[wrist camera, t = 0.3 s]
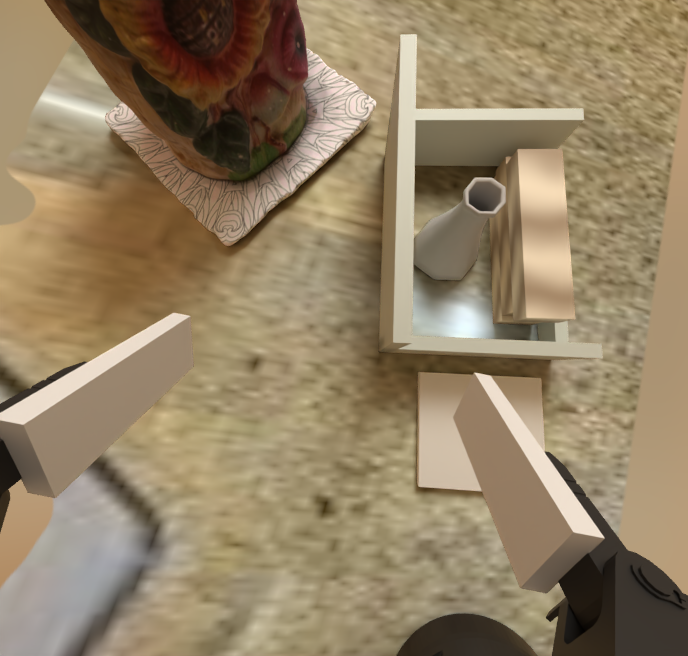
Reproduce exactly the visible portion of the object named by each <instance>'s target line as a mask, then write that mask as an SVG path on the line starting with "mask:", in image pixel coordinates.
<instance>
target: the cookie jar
mask: <svg viewBox="0 0 688 656" xmlns="http://www.w3.org/2000/svg"><path fill="white" fill-rule="evenodd" d="M45 2H46V3H47V5H48V6H49V8H50V9H51V11H52V12H53V14H54V15H55V16H56V18H57V19H58V20H59V22H60V23H61V24H62V25H63V27H64V28H65V29H66V30H67V31H68V32H69V33H70V35H71V36H72V37H73V38H74V39H75V40H76V41H77V42H78V44H79V45H80V46H81V48H82V49H83V50H84V52H85V53H86V55H87V56H88V58H89V60H90V61H91V62H92V64H93V65H94V67H95V68H96V70H97V71H98V72H99V74H100V75H101V76H102V77H103V79H104V80H105V81H106V83H107V85H108V86H109V87H110V89H111V90H112V92H113V93H114V94H115V95H116V96H117V97H118V98H119V99H120V100H121V102H120V103H119V104H118V105H117V106H116V107H115V108H113V109H112V110H111V111H110V112H108V113H107V114H106V116H105V120H106V123H107V124H108V126H109V127H110V128H111V130H113V131H114V132H115V133H116V134H118V135H119V136H120V137H121V138H122V140H123V141H125V142H126V143H127V144H128V145H129V146H130V147H131V148H132V149H134V150H135V152H136V153H137V154H138V155H139V157H140V158H141V159H142V160H143V161H144V162H145V163H146V164H147V165H148V166H149V168H150V169H151V170H152V171H153V173H154V174H155V176H156V177H157V178H158V179H159V180H160V182H161V183H162V184H163V185H164V186H165V187H166V188H167V189H168V190H169V191H170V192H172V193H173V194H174V195H175V196H176V197H177V198H178V200H179V201H180V202H181V203H182V204H184V205H185V206H186V207H187V208H188V209H190V210H191V211H192V212H193V213H194V217H195V219H197V220H198V221H199V222H200V223H201V224H202V225H203V226H204V227H205V228H207V230H209V231H211V232H213V233H214V234H216V235H217V237H218V238H219V239H220V240H221V242H222V243H223V244H224V245H226V246H231V245H232V244H234V243H236V242H237V241H238V240H239V239H241V238H242V237H244V236H245V235H247V234H248V233H249V232H250V231H251V229H252V228H254V227H255V226H256V225H257V224H258V223H259V222H260V221H261V220H262V219H263V218H264V217H265V216H266V214H267V213H268V212H269V211H270V210H271V209H272V208H274V207H275V206H277V205H278V204H279V203H280V202H281V201H282V200H284V199H285V198H287V197H289V196H290V195H292V194H293V193H294V192H295V191H296V190H297V189H298V188H299V186H300V185H302V184H303V183H304V182H305V181H306V180H307V179H308V178H309V177H311V176H312V175H313V174H314V173H315V172H316V171H317V170H318V169H319V168H321V167H322V166H323V165H324V164H325V163H326V162H327V161H328V160H329V159H330V158H332V157H333V156H334V155H335V154H336V153H337V152H338V151H339V150H340V149H341V148H342V147H343V146H345V145H346V144H347V143H348V142H349V141H350V140H351V139H352V138H353V137H354V136H356V135H357V134H358V133H360V132H361V131H362V130H363V129H364V127H365V126H366V125H367V124H368V122H369V120H370V118H371V116H372V113H373V111H374V108H375V106H376V102H375V100H373V99H372V98H371V97H370V96H369V95H367V94H365V93H364V92H363V91H362V90H361V89H360V88H359V87H358V86H357V85H356V84H355V83H353V82H351V81H349V80H348V79H346V78H344V77H343V76H342V75H338V74H337V72H336V71H335V70H333V69H331V68H329V67H328V66H327V65H326V64H325V63H324V62H323V61H322V59H321V58H320V57H319V56H318V55H317V54H313V52H312V51H310V50H309V49H307V48H306V38H305V31H304V26H303V23H302V20H301V17H300V13H299V9H298V5H297V0H45Z"/></svg>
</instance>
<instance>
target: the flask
mask: <svg viewBox="0 0 688 656" xmlns="http://www.w3.org/2000/svg"><path fill="white" fill-rule="evenodd" d="M505 203H506V187H505V186H503V185H502V184H500V183H499V182H497V181H496V180H494V179H493V178H474V179H473V180H472V181H471V183H470V184H469V185H468V186H467V187H466V189H465V190H464V191H463V200H462V201H461V202H460V203H459V204H458V205H457V206H456V207H454V208H452V209H450V210H449V211H447V212H445V213H443V214H441V215H439V216H437V217H435V218H433V219H431V220H429V221H428V222H427V224H426V225H425V226H424V227H423V228H422V230H421V231H420V232H419V233H418V234H417V236H416V237H415V238H414V250H413V264H414V265H415V266H417V267H418V268H419V269H421V270H422V271H423V272H425V273H426V274H427V275H429V276H430V277H431V278H433V279H436V280H461V279H462V278H463V277H464V276H465V274H466V273H467V272H468V271H469V269H470V268H471V267H472V266H473V264H474V263H475V262H476V261H477V257H478V251H479V244H480V240H481V236H482V231H483V228H484V226H485V224H486V222H487V220H488V218H493V217H495V216H496V214H497V213H498V212H499V211H500V209H501V208H502V207H503V206H504V205H505Z"/></svg>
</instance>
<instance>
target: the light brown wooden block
mask: <svg viewBox="0 0 688 656" xmlns="http://www.w3.org/2000/svg"><path fill="white" fill-rule="evenodd" d="M493 179H494V180H496V181H497V182H499V183H500V184H502V185H503V186H505V187H506V203H505V205H504V206H503V207H502V208H501V209H500V211H499V212H498V213H497V214H496V216H495V217H493V218H489V224H490V252H491V280H492V309H493V324H522V325H533V324H537V323H541V322H546V323H560V322H565V321H569V320H574V319H575V308H574V295H573V282H572V269H571V256H570V243H569V230H568V217H567V204H566V192H565V179H564V166H563V153H562V149H517V151H516V152H515V153H514V155H513V156H512V157H505V158H504V160H503V161H502V163H501V164H500V165H499V167H498V168H497V170H496V176H495V177H494V178H493Z"/></svg>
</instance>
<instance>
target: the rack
mask: <svg viewBox="0 0 688 656" xmlns="http://www.w3.org/2000/svg"><path fill="white" fill-rule="evenodd" d="M416 50H417V34H412V35H400V43H399V51H398V58H397V66H396V74H395V81H394V89H393V97H392V104H391V112H390V120H389V127H388V135H387V143H386V151H385V165H384V197H383V228H382V260H381V292H380V324H379V352H390V353H411V354H433V355H455V356H476V357H498V358H520V359H541V360H566V359H599V358H603V355H602V344H596V343H572V342H569V338H568V322H567V321H565V322H560V323H546V322H541V323H538V341H525V340H502V339H478V338H455V337H432V336H412V317H413V250H414V184H415V166H499V165H500V164H501V163H502V161H503V160H504V158H505V157H512V156H513V155H514V153H515V152H516V151H517V149H558V148H559V146H560V145H561V144H562V143H563V142H564V141H565V140H566V139H567V138H568V137H569V136H570V135H571V133H572V132H573V131H574V130H575V129H576V128H577V127H578V126H579V125H580V124H581V123H582V122H583V120H584V114H583V109H416Z"/></svg>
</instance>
